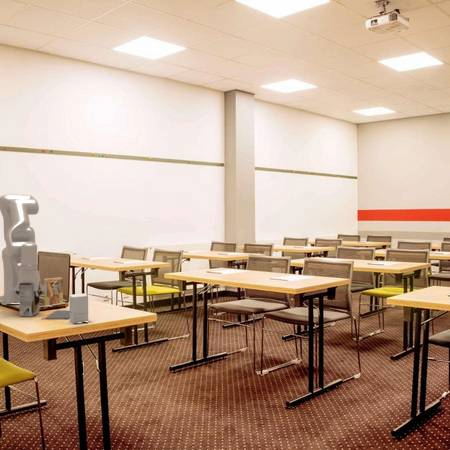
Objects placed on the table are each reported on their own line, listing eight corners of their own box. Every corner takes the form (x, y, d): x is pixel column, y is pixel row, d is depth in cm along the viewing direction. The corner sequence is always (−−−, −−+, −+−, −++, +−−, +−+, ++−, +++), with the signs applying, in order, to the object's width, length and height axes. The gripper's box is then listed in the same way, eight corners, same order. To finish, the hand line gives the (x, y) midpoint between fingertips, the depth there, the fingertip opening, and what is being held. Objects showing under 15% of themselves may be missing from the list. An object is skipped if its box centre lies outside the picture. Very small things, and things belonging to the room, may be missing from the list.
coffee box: (27, 312, 258) (27, 280, 257) (39, 312, 258) (39, 280, 257) (18, 316, 249) (18, 283, 248) (31, 316, 249) (31, 283, 248)
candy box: (60, 305, 278) (60, 277, 278) (63, 306, 275) (63, 278, 275) (44, 307, 273) (43, 278, 272) (46, 308, 270) (46, 279, 269)
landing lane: (41, 319, 244) (41, 318, 244) (53, 311, 262) (53, 310, 262) (68, 319, 244) (68, 318, 244) (78, 311, 262) (78, 310, 262)
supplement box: (85, 319, 244) (85, 293, 244) (88, 322, 238) (88, 295, 237) (69, 321, 241) (69, 294, 240) (72, 324, 234) (72, 296, 234)
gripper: (8, 269, 248) (8, 305, 249) (44, 269, 249) (44, 305, 249) (14, 266, 256) (14, 302, 257) (49, 267, 256) (49, 302, 257)
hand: (29, 303), depth 253 cm, fingers closed on coffee box, 6 cm apart
